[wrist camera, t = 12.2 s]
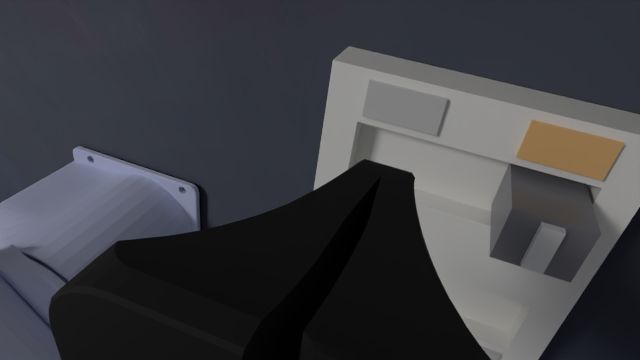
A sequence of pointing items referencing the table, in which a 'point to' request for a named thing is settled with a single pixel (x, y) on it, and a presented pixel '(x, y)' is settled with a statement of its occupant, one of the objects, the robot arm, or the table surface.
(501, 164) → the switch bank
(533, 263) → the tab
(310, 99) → the table surface
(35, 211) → the robot arm
